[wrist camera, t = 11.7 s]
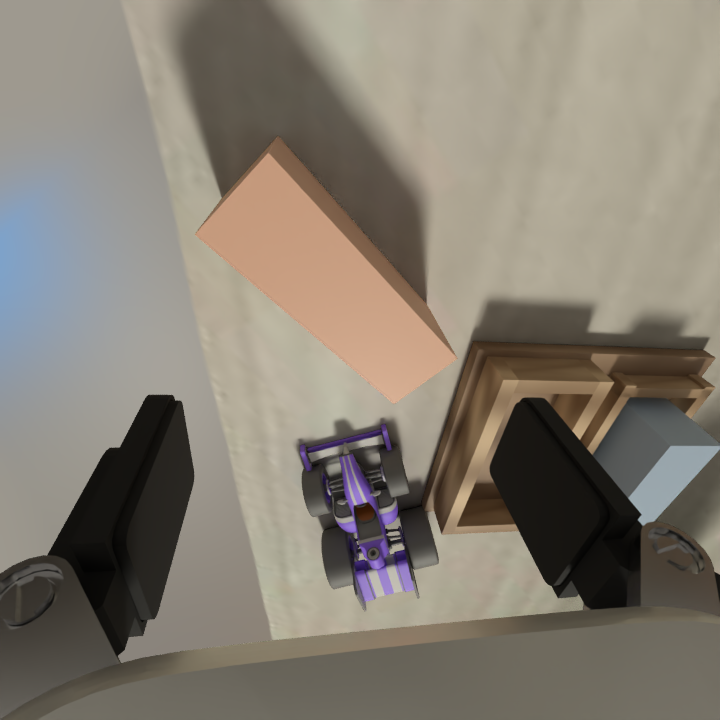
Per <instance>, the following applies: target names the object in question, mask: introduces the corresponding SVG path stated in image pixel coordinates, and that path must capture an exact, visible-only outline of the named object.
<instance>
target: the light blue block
mask: <svg viewBox="0 0 720 720" xmlns="http://www.w3.org/2000/svg"><path fill="white" fill-rule="evenodd" d="M719 450H720V443H719V442H717V441H716V440H715V439H714V438H713V437H712V436H710V435H709V434H708V433H707V432H706V431H705V430H703V429H702V428H701V427H700V426H699V425H697V424H696V423H695V422H694V421H693V420H692V419H690V418H689V417H688V416H687V415H686V414H685V413H683V412H682V411H681V410H680V409H679V408H677V407H676V406H675V405H674V404H673V403H672V402H670V401H669V400H668V399H667V398H648V397H629V399H628V401H627V402H626V404H625V405H624V407H623V408H622V410H621V411H620V413H619V415H618V416H617V418H616V419H615V421H614V422H613V424H612V425H611V427H610V428H609V430H608V432H607V433H606V435H605V436H604V438H603V439H602V441H601V442H600V444H599V446H598V447H597V449H596V450H595V452H594V453H593V457H594V458H595V459H596V460H597V461H598V463H599V464H600V465H601V466H602V467H603V469H604V470H605V471H606V472H607V473H608V475H609V476H610V477H611V478H612V479H613V481H614V482H615V483H616V484H617V485H618V487H619V488H620V489H621V490H622V491H623V493H624V494H625V495H626V496H627V497H628V499H629V500H630V501H631V502H632V503H633V505H634V506H635V507H636V508H637V509H638V511H639V512H640V513H641V514H642V515H641V516H640V518H639V519H638V521H639V522H640V523H641V524H642V526H643V525H645V524H646V523H648V522H654V521H655V520H656V519H657V517H658V516H659V515H660V514H661V513H662V512H663V511H664V510H665V509H666V508H667V507H668V505H669V504H670V503H671V502H672V501H673V500H674V499H675V498H676V497H677V496H678V495H679V493H680V492H681V491H682V490H683V489H684V488H685V487H686V486H687V485H688V484H689V483H690V481H691V480H692V479H693V478H694V477H695V476H696V475H697V474H698V473H699V472H700V471H701V469H702V468H703V467H704V466H705V465H706V464H707V463H708V462H709V461H710V460H711V459H712V457H713V456H714V455H715V454H716V453H717V452H718V451H719Z"/></svg>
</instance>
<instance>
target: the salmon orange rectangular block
mask: <svg viewBox="0 0 720 720" xmlns="http://www.w3.org/2000/svg"><path fill="white" fill-rule="evenodd" d="M195 235H196V236H197V237H198V238H199V239H201V240H202V241H203V242H204V243H205V244H206V245H208V246H209V247H210V248H211V249H212V250H214V251H215V252H216V253H217V254H218V255H219V256H221V257H222V258H223V259H224V260H225V261H226V262H228V263H229V264H230V265H231V266H232V267H233V268H235V269H236V270H237V271H238V272H239V273H241V274H242V275H243V276H244V277H245V278H246V279H248V280H249V281H250V282H251V283H252V284H253V285H255V286H256V287H257V288H258V289H259V290H260V291H262V292H263V293H264V294H265V295H266V296H268V297H269V298H270V299H271V300H272V301H273V302H275V303H276V304H277V305H278V306H279V307H280V308H282V309H283V310H284V311H285V312H286V313H288V314H289V315H290V316H291V317H292V318H293V319H295V320H296V321H297V322H298V323H299V324H300V325H302V326H303V327H304V328H305V329H306V330H307V331H309V332H310V333H311V334H312V335H313V336H315V337H316V338H317V339H318V340H319V341H320V342H322V343H323V344H324V345H325V346H326V347H327V348H329V349H330V350H331V351H332V352H333V353H335V354H336V355H337V356H338V357H339V358H340V359H342V360H343V361H344V362H345V363H346V364H347V365H349V366H350V367H351V368H352V369H353V370H354V371H356V372H357V373H358V374H359V375H360V376H362V377H363V378H364V379H365V380H366V381H367V382H369V383H370V384H371V385H372V386H373V387H374V388H376V389H377V390H378V391H379V392H380V393H382V394H383V395H384V396H385V397H386V398H387V399H389V400H390V401H391V402H392V403H393V404H395V403H396V402H398V401H399V400H401V399H402V398H403V397H405V396H406V395H407V394H409V393H410V392H412V391H413V390H414V389H416V388H417V387H419V386H420V385H421V384H423V383H424V382H426V381H427V380H428V379H430V378H431V377H433V376H434V375H435V374H437V373H438V372H440V371H441V370H442V369H444V368H445V367H446V366H448V365H449V364H451V363H452V362H453V361H455V360H456V359H458V358H457V357H456V355H455V353H454V351H453V350H452V348H451V346H450V344H449V343H448V341H447V339H446V337H445V336H444V334H443V332H442V330H441V329H440V327H439V325H438V323H437V322H436V320H435V318H434V316H433V315H432V313H431V311H430V309H429V308H428V306H427V304H426V303H425V302H424V301H423V300H422V299H421V297H420V296H419V295H418V294H417V293H416V292H415V291H414V289H413V288H412V287H411V286H410V285H409V284H408V283H407V282H406V280H405V279H404V278H403V277H402V276H401V275H400V274H399V272H398V271H397V270H396V269H395V268H394V267H393V266H392V265H391V263H390V262H389V261H388V260H387V259H386V258H385V257H384V255H383V254H382V253H381V252H380V251H379V250H378V249H377V247H376V246H375V245H374V244H373V243H372V242H371V241H370V240H369V238H368V237H367V236H366V235H365V234H364V233H363V232H362V230H361V229H360V228H359V227H358V226H357V225H356V224H355V223H354V221H353V220H352V219H351V218H350V217H349V216H348V215H347V213H346V212H345V211H344V210H343V209H342V208H341V207H340V206H339V204H338V203H337V202H336V201H335V200H334V199H333V198H332V196H331V195H330V194H329V193H328V192H327V191H326V190H325V188H324V187H323V186H322V185H321V184H320V183H319V182H318V181H317V179H316V178H315V177H314V176H313V175H312V174H311V173H310V171H309V170H308V169H307V168H306V167H305V166H304V165H303V164H302V162H301V161H300V160H299V159H298V158H297V157H296V156H295V154H294V153H293V152H292V151H291V150H290V149H289V148H288V147H287V145H286V144H285V143H284V142H283V141H282V140H281V139H280V137H279V136H277V137H276V138H275V140H274V141H273V142H272V143H271V144H270V145H269V146H268V147H267V149H266V150H265V151H264V152H263V153H262V154H261V155H260V156H259V157H258V159H257V160H256V161H255V162H254V163H253V164H252V165H251V166H250V167H249V169H248V170H247V171H246V172H245V173H244V174H243V175H242V176H241V178H240V179H239V180H238V181H237V182H236V183H235V184H234V185H233V186H232V188H231V189H230V190H229V191H228V192H227V193H226V194H225V195H224V197H223V198H222V199H221V200H220V202H219V203H218V204H217V206H216V207H215V208H214V209H213V211H212V212H211V213H210V215H209V216H208V217H207V219H206V220H205V221H204V223H203V224H202V225H201V227H200V228H199V229H198V231H197V232H196V233H195Z"/></svg>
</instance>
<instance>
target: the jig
mask: <svg viewBox="0 0 720 720" xmlns="http://www.w3.org/2000/svg"><path fill="white" fill-rule="evenodd" d="M714 359H715V357H714V356H712V355H710V354H709V353H707V352H706V351H704V350H685V349H659V348H634V347H608V346H582V345H556V344H530V343H504V342H478V341H473V344H472V347H471V350H470V353H469V356H468V359H467V362H466V365H465V368H464V372H463V375H462V378H461V381H460V384H459V387H458V390H457V393H456V396H455V399H454V402H453V406H452V409H451V412H450V415H449V418H448V421H447V424H446V427H445V430H444V433H443V436H442V440H441V443H440V446H439V449H438V452H437V455H436V458H435V461H434V464H433V467H432V470H431V474H430V477H429V480H428V483H427V486H426V489H425V492H424V495H423V498H422V501H421V503H422V506H423V509H424V511H425V512H431V511H435V514H436V518H437V521H438V524H439V527H440V531H441V534H442V535H443V534H464V533H486V532H508V531H519V530H518V528H517V526H516V524H515V522H514V520H513V518H512V516H511V514H510V513H509V511H508V509H507V507H506V505H505V503H504V501H503V499H502V497H501V495H500V493H499V491H498V489H497V487H496V485H495V483H494V481H493V479H492V477H491V475H490V469H489V468H490V463H491V461H492V458H493V456H494V453H495V451H496V449H497V446H498V444H499V441H500V439H501V437H502V434H503V432H504V430H505V427H506V425H507V422H508V420H509V418H510V415H511V413H512V410H513V408H514V406H515V404H516V403H518V402H520V400H521V399H522V398H525V397H539V398H545V399H546V400H547V401H548V402H549V404H550V405H551V406H552V407H553V408H554V410H555V411H556V412H557V413H558V414H559V416H560V417H561V418H562V419H563V420H564V422H565V423H566V424H567V425H568V426H569V428H570V429H571V430H572V431H573V432H574V434H575V435H576V436H577V437H578V438H579V440H580V441H581V442H582V443H583V444H584V446H585V447H586V448H587V449H588V450H589V452H590V453H591V454H592V455H593V453H594V452H595V450H596V449H597V447H598V446H599V444H600V442H601V441H602V439H603V438H604V436H605V435H606V433H607V432H608V430H609V428H610V427H611V425H612V424H613V422H614V421H615V419H616V418H617V416H618V415H619V413H620V411H621V410H622V408H623V407H624V405H625V404H626V402H627V401H628V399H629V397H648V398H667V399H668V400H669V401H670V402H672V403H673V404H674V405H675V406H676V407H677V408H679V409H680V410H681V411H682V412H683V413H685V414H686V415H687V416H688V417H689V418H690V419H691V418H692V416H693V415H694V414H695V413H696V411H697V410H698V409H699V408H700V406H701V405H702V404H703V403H704V401H705V400H706V399H707V397H708V396H709V395H710V394H711V392H712V391H713V390H714V389H715V387H714V386H713V385H711V384H710V383H709V382H707V381H706V380H705V379H703V378H702V375H703V374H704V373H705V371H706V370H707V369H708V367H709V366H710V365H711V363H712V362H713V361H714Z"/></svg>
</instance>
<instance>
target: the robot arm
mask: <svg viewBox="0 0 720 720" xmlns="http://www.w3.org/2000/svg"><path fill="white" fill-rule="evenodd" d="M489 469H490V475H491V477H492V479H493V481H494V483H495V485H496V487H497V489H498V491H499V493H500V495H501V497H502V499H503V501H504V503H505V505H506V507H507V509H508V511H509V513H510V514H511V516H512V518H513V520H514V522H515V524H516V526H517V528H518V530H519V532H520V534H521V536H522V538H523V540H524V542H525V544H526V546H527V548H528V550H529V551H530V553H531V555H532V557H533V559H534V561H535V563H536V565H537V567H538V569H539V571H540V573H541V575H542V577H543V579H544V580H545V582H546V583H547V584H548V585H550V586H552V588H553V590H554V592H555V593H556V595H557V597H558V598H566V597H577V595H578V594H579V595H580V597H581V598H582V600H583V602H584V604H583V610H581V611H570V612H559V613H548V614H537V615H526V616H515V617H504V618H493V619H483V620H473V621H462V622H452V623H441V624H431V625H421V626H410V627H400V628H390V629H380V630H370V631H360V632H350V633H340V634H330V635H321V636H311V637H301V638H291V639H281V640H272V641H262V642H253V643H245V644H237V645H229V646H220V647H212V648H204V649H196V650H187V651H180V652H174V653H168V654H163V655H156V656H150V657H145V658H140V659H136V660H132V661H128V662H124V663H121V662H120V660H119V658H118V655H119V654H120V653H122V652H123V651H124V650H125V647H126V644H127V641H128V637H134V636H143V634H144V631H145V627H146V623H147V620H149V619H155V617H156V616H157V613H158V610H159V607H160V603H161V600H162V595H163V592H164V589H165V585H166V581H167V578H168V574H169V571H170V567H171V563H172V560H173V556H174V552H175V549H176V545H177V542H178V538H179V534H180V531H181V527H182V524H183V520H184V516H185V513H186V509H187V505H188V501H189V498H190V494H191V491H192V487H193V482H194V468H193V463H192V457H191V451H190V445H189V439H188V433H187V428H186V422H185V416H184V410H183V405H182V402H181V401H175V399H174V396H173V395H148V396H147V397H146V398H145V400H144V402H143V404H142V406H141V408H140V410H139V412H138V413H137V415H136V417H135V419H134V421H133V423H132V425H131V427H130V429H129V431H128V433H127V435H126V437H125V439H124V441H123V442H122V444H121V447H120V448H109V449H108V450H106V452H105V453H104V455H103V456H102V458H101V459H100V461H99V463H98V465H97V467H96V469H95V470H94V472H93V474H92V476H91V477H90V479H89V481H88V483H87V485H86V487H85V488H84V490H83V492H82V494H81V495H80V497H79V499H78V501H77V503H76V504H75V506H74V508H73V510H72V512H71V514H70V515H69V517H68V519H67V521H66V522H65V524H64V526H63V528H62V530H61V532H60V533H59V535H58V537H57V539H56V541H55V542H54V544H53V546H52V548H51V550H50V551H49V553H48V555H47V556H46V555H43V556H38V557H34V558H29V559H27V560H24V561H22V562H20V563H17V564H16V565H13V566H11V567H10V568H8V569H7V570H5V571H4V572H2V573H0V720H720V575H719V574H717V573H716V572H714V567H713V565H712V562H711V559H710V557H709V556H708V555H707V553H706V552H705V550H704V549H703V548H702V547H701V546H700V545H699V544H698V543H697V542H696V541H695V540H694V539H692V538H691V537H690V536H689V535H687V534H686V533H684V532H683V531H681V530H679V529H677V528H676V527H674V526H671V525H668V524H665V523H661V522H655V521H654V522H648V523H646V524H645V525H643V526H642V524H641V523H640V522H639V521H638V519H639V518H640V516H641V515H642V514H641V513H640V512H639V511H638V509H637V508H636V507H635V506H634V505H633V503H632V502H631V501H630V500H629V499H628V497H627V496H626V495H625V494H624V493H623V491H622V490H621V489H620V488H619V487H618V485H617V484H616V483H615V482H614V481H613V479H612V478H611V477H610V476H609V475H608V473H607V472H606V471H605V470H604V469H603V467H602V466H601V465H600V464H599V463H598V461H597V460H596V459H595V458H594V457H593V455H592V454H591V453H590V452H589V450H588V449H587V448H586V447H585V446H584V444H583V443H582V442H581V441H580V440H579V438H578V437H577V436H576V435H575V434H574V432H573V431H572V430H571V429H570V428H569V426H568V425H567V424H566V423H565V422H564V420H563V419H562V418H561V417H560V416H559V414H558V413H557V412H556V411H555V410H554V408H553V407H552V406H551V405H550V404H549V402H548V401H547V400H546V399H545V398H539V397H525V398H522V399H521V400H520V402H518V403H516V404H515V406H514V408H513V410H512V413H511V415H510V418H509V420H508V422H507V425H506V427H505V430H504V432H503V434H502V437H501V439H500V441H499V444H498V446H497V449H496V451H495V453H494V456H493V458H492V461H491V463H490V468H489Z"/></svg>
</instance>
